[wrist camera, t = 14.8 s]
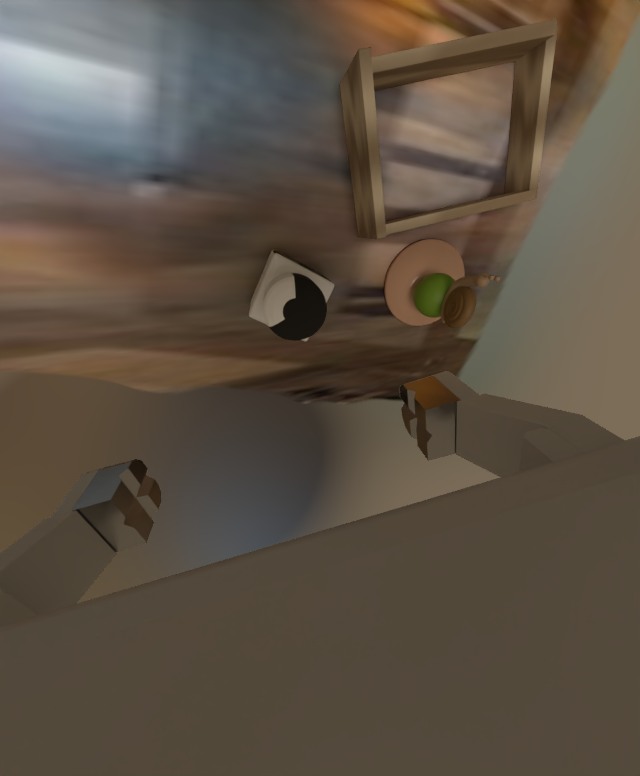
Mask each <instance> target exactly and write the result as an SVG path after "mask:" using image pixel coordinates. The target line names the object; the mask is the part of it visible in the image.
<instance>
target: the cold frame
mask: <svg viewBox="0 0 640 776" xmlns="http://www.w3.org/2000/svg"><path fill="white" fill-rule="evenodd" d="M557 28H558V23H557V19H554V20H549V21H544V22H540V23H535V24H530V25H525V26H520V27H515V28H511V29H506V30H501V31H496V32H491V33H486V34H482V35H477V36H472V37H467V38H462V39H457V40H452V41H448V42H443V43H438V44H433V45H428V46H423V47H419V48H414V49H409V50H404V51H399V52H394V53H389V54H385V55H380V56H375V57H371V47H368V48H363V49H358V51H357V53H356V55H355V57H354V59H353V61H352V63H351V64H350V66H349V68H348V70H347V72H346V74H345V76H344V77H343V79H342V81H341V83H340V93H341V101H342V109H343V117H344V125H345V133H346V141H347V149H348V157H349V165H350V173H351V181H352V189H353V197H354V205H355V213H356V221H357V229H358V237H362V238H373V239H379V238H383V237H387V236H386V235H387V234H392V233H396V232H400V231H404V230H408V229H413V228H417V227H421V226H425V225H430V224H434V223H438V222H442V221H446V220H451V219H455V218H459V217H463V216H468V215H472V214H476V213H480V212H484V211H489V210H493V209H497V208H501V207H505V206H510V205H514V204H518V203H522V202H527V201H531V200H535V198H536V197H537V189H538V181H539V172H540V164H541V156H542V148H543V140H544V132H545V124H546V116H547V108H548V100H549V92H550V84H551V76H552V68H553V60H554V52H555V44H556V36H557ZM513 61H515V72H514V84H513V97H512V109H511V122H510V134H509V146H508V159H507V171H506V184H505V194H501V195H496V196H492V197H488V198H483V199H479V200H475V201H471V202H466V203H462V204H458V205H454V206H449V207H445V208H441V209H437V210H432V211H428V212H424V213H420V214H415V215H411V216H407V217H403V218H398V219H394V220H390V221H386V222H385V212H384V200H383V189H382V177H381V165H380V153H379V141H378V130H377V118H376V106H375V94H374V91H376V90H381V89H386V88H390V87H395V86H400V85H405V84H409V83H414V82H419V81H423V80H428V79H433V78H438V77H442V76H447V75H452V74H456V73H461V72H466V71H471V70H475V69H480V68H485V67H489V66H494V65H499V64H504V63H508V62H513Z"/></svg>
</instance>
